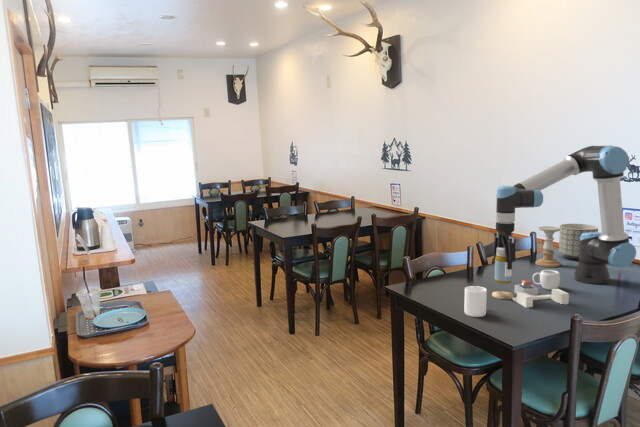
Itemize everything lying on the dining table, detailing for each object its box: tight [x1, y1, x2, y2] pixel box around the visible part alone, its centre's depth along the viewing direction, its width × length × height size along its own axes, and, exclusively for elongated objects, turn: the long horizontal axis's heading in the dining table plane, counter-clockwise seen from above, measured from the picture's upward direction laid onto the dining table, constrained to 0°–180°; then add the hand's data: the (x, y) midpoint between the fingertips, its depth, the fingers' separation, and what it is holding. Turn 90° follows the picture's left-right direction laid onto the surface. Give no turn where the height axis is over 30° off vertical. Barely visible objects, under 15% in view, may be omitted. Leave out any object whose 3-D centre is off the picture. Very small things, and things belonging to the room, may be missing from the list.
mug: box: [532, 269, 561, 291], centre depth 225 cm, size 12×8×8 cm
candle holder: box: [534, 225, 561, 268], centre depth 263 cm, size 12×12×20 cm
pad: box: [491, 290, 515, 300], centre depth 215 cm, size 9×9×1 cm
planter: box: [558, 223, 599, 261], centre depth 275 cm, size 19×19×18 cm
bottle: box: [494, 247, 513, 285], centre depth 213 cm, size 7×7×15 cm
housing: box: [512, 284, 570, 309], centre depth 210 cm, size 19×19×4 cm
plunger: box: [520, 279, 532, 289], centre depth 216 cm, size 4×4×5 cm
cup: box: [463, 285, 488, 318], centre depth 195 cm, size 8×12×10 cm
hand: (503, 273), depth 213 cm, fingers closed on bottle, 7 cm apart
